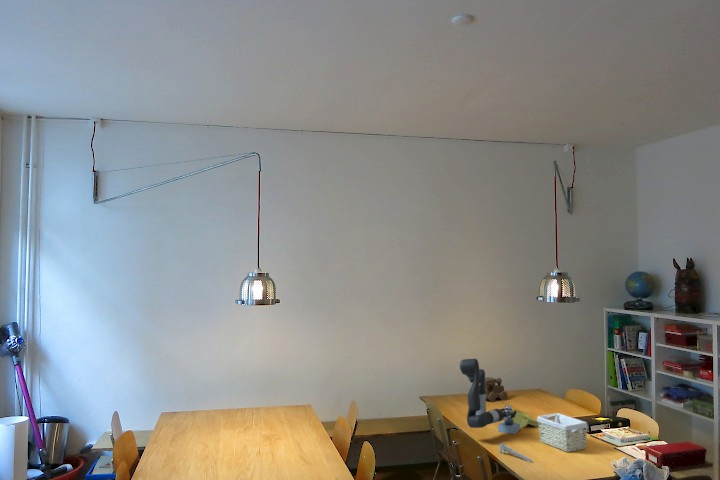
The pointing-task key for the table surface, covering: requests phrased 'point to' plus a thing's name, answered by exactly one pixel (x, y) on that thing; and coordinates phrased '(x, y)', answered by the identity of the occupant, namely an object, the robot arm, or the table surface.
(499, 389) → the wooden toy train
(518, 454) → the caliper
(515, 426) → the stand
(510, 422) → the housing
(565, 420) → the storage basket
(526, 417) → the plastic component
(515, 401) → the table surface
